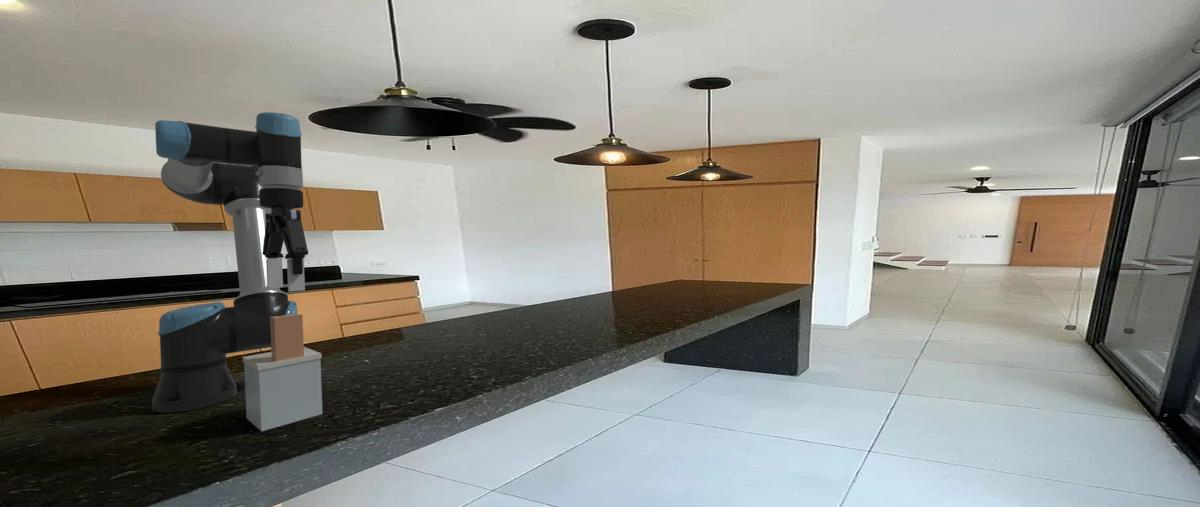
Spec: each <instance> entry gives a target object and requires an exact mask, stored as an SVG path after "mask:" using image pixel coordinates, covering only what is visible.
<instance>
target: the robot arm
mask: <svg viewBox="0 0 1200 507" xmlns="http://www.w3.org/2000/svg"><path fill="white" fill-rule="evenodd" d="M255 124H256V125H255V127H254V128H255V129H256V131H251V130H247V129H246V130H245V129H235V128H229V127H221V126H215V125H214V126H213V125H208V124H200V123H191V122H185V121H182V120H176V121H175V120H165V119H162V120H157V121H156V122H155V124H154V128H155V129H154V130H155V133H154V134H155V149H156V151H155V152H156V155H157V156H158V157H160V158H163V159H167V161H166V162H165V163H164V164H163V165H162V168H161V170H160V177H161V181H162V183H163V184H164V186H165V187H166V188H167V190H169V191H171V192H172V193H173V194H175V195H177V196H178V197H181V198H183V199H185V200H188V201H191V202H195V203H199V204H206V205H213V206H214V205H217V206H218V205H219V206H224V208H223V209H224V211H225V213H226V214H228V215H230V216H231V217H232V223H233V235H234V236H233V237H234V246H235V247H234V248H235V255H236V265H237V273H238V275H237V276H238V283H239V284H238V285H239V295H238V296H237V297H236V298H234V300H233V306H226V305H225V304H224V302H221V301H216V302H209V303H201V304H200V303H199V304H196V305H195V304H194V305H189V306H185V307H180V308H176V309H174V310H170V311H167V312H165V313H163V314H162V315H161V316H160V317H159V321H158V323H159V325H158V326H159V328H158V332H157V335H158V336H159V347H160V348H159V350H160V372H161V373H160V374H161V375H160V378H159V381H158V382H157V385H156V386H157V387H156V388H155V391H154V394H153V396H152V399H151V410H152V411H153V413H160V414H163V413H165V414H169V413H181V412H187V411H192V410H193V411H194V410H198V409H203V408H207V407H211V406H214V405H218V404H220V403H223V402H226V401H228V400H231V399H233V398H235V396H237V395H238V390H237V383H236V382H235V379H234V378H233V375H232V373H231V371H230V369H229V366H228V365H227V355H228V354H233V353H235V354H236V353H241V352H246V351H247V352H248V351H255V350H260V349H267V348H271V330H270V317H274V316H283V315H291V314H298V307H297V302H296V301H295V300H289V296H288V294H287V293H286V292H285V291H283V290H281V289H280V288H284V277H283V275H284V274H283V258H284V259H285V260H286V268H287V269H286V272H287V273H286V274H287V291H288V292H289V293H290V292H301V291H302V292H303V291H306V285H305V284H306V282H305V280H306V278H305V257H306V256H308V255H309V250H308V246H307V242H306V241H307V240H306V237H305V231H304V228H303V222H302V216H301V215H302V213H301V210H300V209H302V208H303V207H304V193H303V191H302V190H301V189H303V187H304V180H303V179H304V177H303V166H302V132H301V125H300V121H299V119H298V118H296V116H292V115H290V114H287V113H280V112H274V111H273V112H272V111H271V112H270V111H269V112H267V111H266V112H265V111H264V112H260V113H258V114H257V115H256V121H255ZM283 244H284V246H285V249H286V252H287V253H285V256H284V254H283V253H282V249H283ZM225 306H226V307H225Z"/></svg>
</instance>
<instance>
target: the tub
mask: <svg viewBox="0 0 1200 507" xmlns="http://www.w3.org/2000/svg"><path fill="white" fill-rule="evenodd" d="M243 363H244V362H243ZM321 364H322V362H321V358H319V359H314V360H309V361H304V362H299V363H294V364H289V365H284V366H279V367H274V368H269V369H264V370H259V371H258V370H256V369H255V368H253V367H251V366H249V365H248V364H246V363H244V364H243V366H244V368H243V369H244V386H245V387H244V390H245V393H244V394H245V412H246V416H245V417H246V419H247V420H248V421H249V422H250V423H251V424H252V425H253V426H255V427H256V428H257V429H258V430H259V431H260V432H265V431H268V430H271V429H274V428H279V427H282V426H285V425H286V426H287V425H288V424H292V423H296V422H299V421H300V422H301V421H302V420H306V419H309V418H313V417H316V416H320V415H323V392H322V368H321V367H322V365H321Z"/></svg>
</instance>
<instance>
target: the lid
mask: <svg viewBox="0 0 1200 507" xmlns="http://www.w3.org/2000/svg"><path fill="white" fill-rule="evenodd" d="M303 316H304V315H303V314H301V313H297V314H291V315H283V316H274V317H270V330H271V347H270V350H271V351H269V352H264V353H258V354H252V355H246V356H242V362H243V363H246V364H248V365H249V366H251V367H253V368H255V369H256V370H258V371H259V370H264V369H269V368H274V367H279V366H284V365H289V364H294V363H299V362H304V361H309V360H314V359H319V358H320V359H322V356H323V355H322V352H318V351H316V350H314V349H311V348H308V347H306V346H305V345H304V344H305V343H304V323H303V322H304V321H303Z"/></svg>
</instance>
